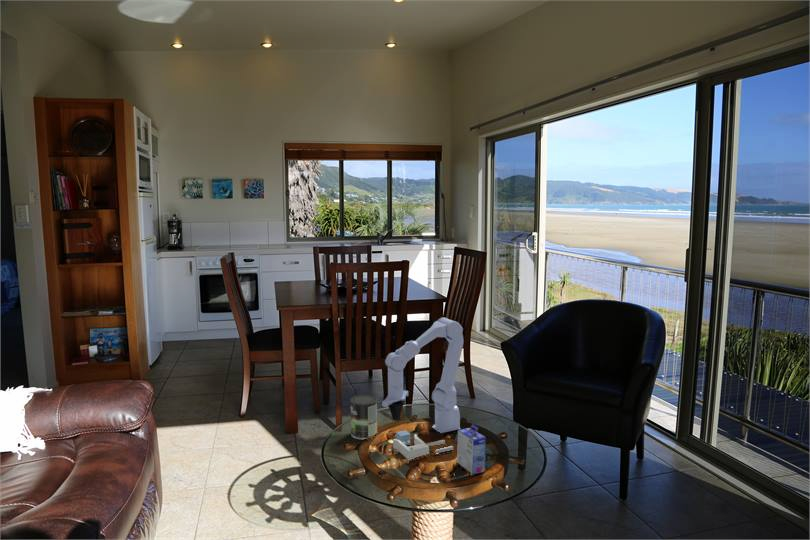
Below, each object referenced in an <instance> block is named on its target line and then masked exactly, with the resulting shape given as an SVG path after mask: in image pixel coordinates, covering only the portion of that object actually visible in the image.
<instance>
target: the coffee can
mask: <svg viewBox="0 0 810 540" xmlns="http://www.w3.org/2000/svg"><path fill="white" fill-rule="evenodd" d="M349 402H350V433H351V434H350V435H351V438H354V439H356V440H360V441H361V440H362V441H363V440H364V439H367V438H370V437H372V436H374V435H375V434H376V433H377V434H378V415H377V414H378V413H377V412H378V407H377V405H378V404H377V402H378V398H377V397H375V396H373V395H371V394H370V395H369V394H361V395H360V394H359V395H355V396H352V397H351V398H350V400H349ZM367 440H368V439H367Z"/></svg>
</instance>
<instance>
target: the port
mask: <svg viewBox="0 0 810 540" xmlns="http://www.w3.org/2000/svg"><path fill="white" fill-rule="evenodd" d="M392 442H393V443H392V445H393V446H392V447H393V450H394V449H395V450H396V451H398V452H399V453H400V454H401V455H402V456H403V457H404V458H406V459H407V460H408V461H413V460H415V459H414V458H416V457H419V456H422V455H426V454H429V455H430V449H429V446H428V445H427V443H425V441H424V440H422V439H420V438H419V437H418V434H414V438H413V443H414V445H410V446H406V445H405V444H403V443H402V442H401V441H400V440H397V439H396V438H393V440H392ZM412 459H413V460H412Z"/></svg>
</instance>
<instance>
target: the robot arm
mask: <svg viewBox="0 0 810 540" xmlns="http://www.w3.org/2000/svg"><path fill="white" fill-rule="evenodd" d="M463 331H464V328H463V327H462V325H461V324H460V323H459V322H458V321H455V320H452V319H449V318H447V317H440V318H438V319H437V320H436V321H434V322H433V324H432V325H431V326H430V328H428V329H427V330H426V331H424V332H423V333H422V334H421V335H420V336H419V337H417V339H416V340H409V341H406V342H404V345H402V346H401V347H399V348H398V349H396V350H395V352H390V353H388V355H387V356H386V359H385V360H384V363H385V365H386V367H387V396H386V398H385V399H384V400H382V404H381V406H382V407H383V408H388V409H389V411H390V415H391V417H392V420H393V421H399V420H400V417H401V412H402V410H403V407H404V405H405V403H406V397H408V396H409V391H408V390H405V389H404V369H405V367H406V365H407V363H408V362H409V361H410V360H412V359H413V358H414V357H416V356H417V355H419V353H420V352H421V349H422V348H423V347H424V346H425V345H427V344H429V343H430V342H432V341H433V340H435V339H436V338H445V339H446V341H447V342H448V347H447V352H446V354H445V361H444V364H443V368H442V369H443V370H442V373H441V377H440V381H439V382H438V383H436V384H435V388H434V390H433V391H432V393H431V400H432V401H433V402H434V424H432V425H433V426H432V427H431V428H433V430H435V431H436V432H438V433H439V432H440V433H439V434H443V433H447V432H448V433H449V432H452V431H456V430H457V431H458V430H461V426H460V425H461V412H460V409H459V407H458V406H457V402H458V400H457V392H458V391H457V390H456V387H455V383H456V379H457V378H456V377H457V374H458V373H457V372H458V368H459V364H460V359H461V355H462V351H463V348H464V335H463Z"/></svg>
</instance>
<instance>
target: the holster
mask: <svg viewBox="0 0 810 540" xmlns="http://www.w3.org/2000/svg"><path fill="white" fill-rule="evenodd" d="M426 444H427V445H428V446H434V445H440V444H445V445H446V440H445V439H441V440H436V441H433V442H432V441H431V442H427V443H426ZM450 450H453V451H454V446H453V445H449V446H448V447H444V448H440V449H436V450H435V452H436V453H439V452H445V451H450Z"/></svg>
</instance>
